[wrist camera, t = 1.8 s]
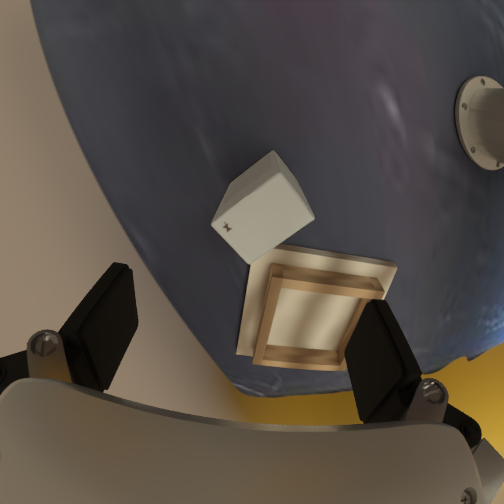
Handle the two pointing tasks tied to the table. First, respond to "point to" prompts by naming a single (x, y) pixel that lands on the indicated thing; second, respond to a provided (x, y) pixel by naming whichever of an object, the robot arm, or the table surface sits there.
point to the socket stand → (307, 305)
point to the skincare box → (262, 208)
